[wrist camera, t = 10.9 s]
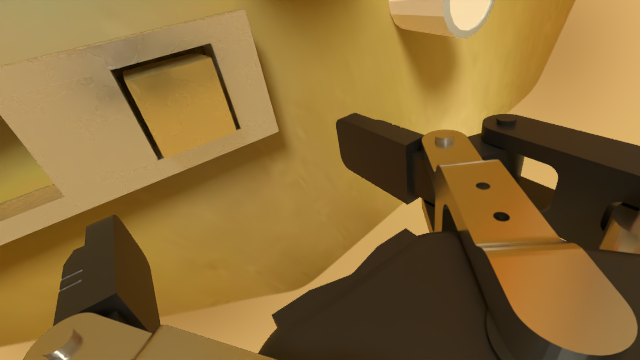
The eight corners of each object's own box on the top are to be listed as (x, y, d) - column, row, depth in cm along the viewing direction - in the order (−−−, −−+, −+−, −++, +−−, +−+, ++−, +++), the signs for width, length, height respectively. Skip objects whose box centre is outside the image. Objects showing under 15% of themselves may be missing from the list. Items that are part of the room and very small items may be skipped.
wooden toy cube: (155, 137, 24) (164, 158, 20) (122, 71, 21) (124, 81, 17) (218, 115, 26) (237, 131, 22) (194, 51, 23) (211, 57, 19)
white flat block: (-81, 257, 19) (-106, 288, 17) (-248, 125, 15) (-315, 144, 12) (265, 122, 28) (278, 131, 26) (231, 10, 23) (244, 9, 21)
